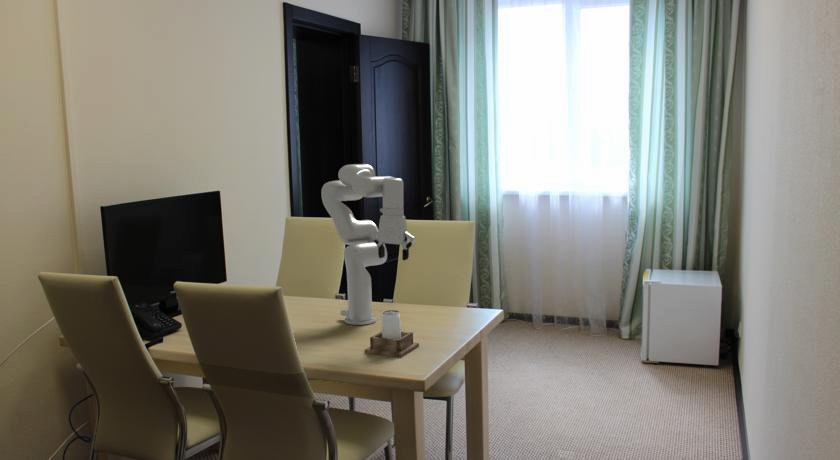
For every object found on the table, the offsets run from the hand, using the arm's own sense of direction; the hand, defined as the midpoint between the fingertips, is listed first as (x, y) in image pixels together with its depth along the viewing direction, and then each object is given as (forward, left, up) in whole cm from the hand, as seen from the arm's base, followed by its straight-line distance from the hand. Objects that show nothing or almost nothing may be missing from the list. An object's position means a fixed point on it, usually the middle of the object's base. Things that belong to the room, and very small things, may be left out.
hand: (393, 258), depth 271 cm
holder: (+7, -17, -29) cm, 34 cm away
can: (+7, -17, -28) cm, 34 cm away
